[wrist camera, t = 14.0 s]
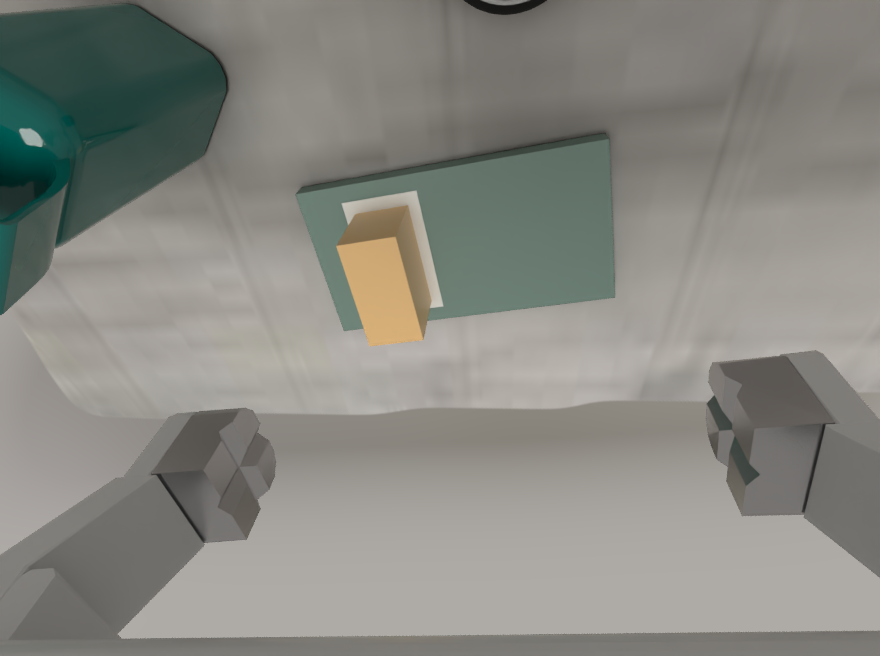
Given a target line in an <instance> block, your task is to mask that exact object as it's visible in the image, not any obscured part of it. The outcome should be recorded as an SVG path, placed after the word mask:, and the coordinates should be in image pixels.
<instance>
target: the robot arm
mask: <svg viewBox="0 0 880 656" xmlns="http://www.w3.org/2000/svg"><path fill="white" fill-rule="evenodd" d="M708 383H709V385H710V387H711V389H712V391H713V393H714V396H713V397H712V398H711V399H710V401H709V402H708V403H707V409H706V423H707V430H708V437H709V440H710V443H711V446H712V449H713V452H714V454H715V456H716V459H717V460H718V461H720V462H721V463H723V464H724V465H726V466H727V467H728V471H727V483H728V486H729V488H730V490H731V492H732V495H733V497H734V499H735V501H736V503H737V506H738V508H739V510H740V512H741V515H742V516H757V515H758V516H760V515H804V518H805V519H807V520H808V521H809V522H810V523H812V524H813V525H814V526H816V527H817V528H818V529H819V530H820V531H822V532H823V533H824V534H825V535H827V536H828V537H829V538H830V539H832V540H833V541H834V542H836V543H837V544H838V545H839V546H841V547H842V548H843V549H844V550H846V551H847V552H848V553H849V554H851V555H852V556H853V557H854V558H856V559H857V560H858V561H860V562H861V563H862V564H863V565H865V566H866V567H867V568H869V569H870V570H871V571H872V572H873V573H875V574H876V575H877V576H878V577H880V419H879V418H878V417H877V416H876V415H875V414H874V412H873V411H872V410H871V409H870V408H869V407H868V405H867V404H866V403H865V402H864V401H863V400H862V398H861V397H860V396H859V395H858V394H857V393H856V391H855V390H854V389H853V388H852V387H851V386H850V384H849V383H848V382H847V381H846V380H845V379H844V377H843V376H842V375H841V374H840V373H839V372H838V371H837V369H836V368H835V367H834V366H833V365H832V364H831V362H830V361H829V360H828V359H827V358H826V357H825V355H824V354H823V353H820V352H818V351H816V350H815V351H807V352H799V353H790V354H782V355H780V356H772V357H762V358H752V359H742V360H733V361H723V362H713V363H712V365H711V367H710V370H709V380H708ZM259 426H260V422H259V420H258V418H257V417H256V415H255V413H254V411H253V410H250V409H247V408H238V409H224V410H210V411H199V412H188V413H177V414H175V415H173V416H170V417H168V419H167V420H166V422H165V423H164V424H163V426H162V427H161V428H160V429H159V431H158V432H157V433H156V435H155V436H154V438H153V439H152V440H151V441H150V443H149V444H148V445H147V447H146V448H145V449H144V450H143V452H142V453H141V454H140V456H139V457H138V459H137V460H136V461H135V462H134V464H133V465H132V466H131V468H130V469H129V470H128V472H127V473H126V474H125V476H124V477H122V478H115V479H114V480H112V481H111V482H109V483H108V484H106V485H105V486H103V487H102V488H100V489H99V490H97V491H96V492H94V493H93V494H91V495H90V496H88V497H86V498H85V499H84V500H82V501H80V502H79V503H78V504H76V505H75V506H73V507H72V508H70V509H69V510H67V511H66V512H64V513H62V514H61V515H59V516H58V517H57V518H55V519H53V520H52V521H51V522H49V523H47V524H46V525H44V526H43V527H42V528H40V529H38V530H37V531H35V532H34V533H32V534H31V535H30V536H28V537H26V538H25V539H23V540H22V541H20V542H19V543H18V544H16V545H14V546H13V547H11V548H10V549H8V550H7V551H5V552H4V553H2V554H1V555H0V656H880V631H811V632H810V631H807V632H719V633H718V632H716V633H715V632H714V633H713V632H712V633H711V632H710V633H631V634H629V633H626V634H625V633H624V634H544V635H543V634H539V635H458V636H457V635H456V636H455V635H453V636H355V637H354V636H353V637H249V638H248V637H247V638H151V639H121V637H119V635H118V633H119V632H120V631H121V630H122V629H123V628H124V627H125V626H126V625H127V624H128V623H129V622H130V621H131V620H132V618H134V616H136V615H137V614H138V613H139V612H140V611H141V610H142V608H143V607H144V606H145V605H146V604H147V603H148V602H149V601H150V600H151V599H152V598H153V597H154V596H155V595H156V594H157V593H158V592H159V591H160V590H161V589H162V588H163V587H164V586H165V585H166V584H167V583H168V582H169V581H170V580H171V579H172V578H173V577H174V576H175V575H176V574H177V573H178V572H179V571H180V570H181V569H182V568H183V567H184V566H185V565H186V564H187V563H188V562H189V560H191V559H192V558H193V557H194V555H196V553H197V552H198V551H199V550H200V549H201V548H202V547H203V546H204V543H208V542H222V541H234V540H246V539H247V538H248V535H249V533H250V531H251V529H252V527H253V524H254V522H255V520H256V518H257V516H258V513H259V511H260V506H259V503H258V500H257V499H259V498H260V497H261V496H262V495H263V494H264V493H265V492H267V491H268V490H269V489H270V486H271V484H272V481H273V479H274V477H275V467H276V459H275V454H274V450H273V448H272V446H271V443H270V441H269V440H268V439H266V438H264V437H263V436H261V435H260V434H259V433H257V432H258V429H259Z"/></svg>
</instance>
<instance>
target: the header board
mask: <svg viewBox="0 0 880 656" xmlns="http://www.w3.org/2000/svg"><path fill="white" fill-rule="evenodd" d="M295 195H296V197H297V200H298V203H299V206H300V209H301V211H302V214H303V217H304V220H305V223H306V225H307V228H308V231H309V234H310V237H311V240H312V242H313V245H314V248H315V251H316V254H317V256H318V259H319V262H320V265H321V268H322V270H323V273H324V276H325V279H326V282H327V284H328V287H329V290H330V293H331V296H332V298H333V301H334V304H335V307H336V310H337V313H338V315H339V318H340V321H341V324H342V327H343V329H344V331H348V330H356V329H364V328H363V325H362V322H361V319H360V316H359V313H358V310H357V307H356V304H355V301H354V298H353V295H352V292H351V289H350V286H349V283H348V280H347V277H346V274H345V271H344V268H343V265H342V262H341V259H340V256H339V253H338V250H337V247H336V245H337V244H338V242H339V240H340V239H341V237H342V235H343V234H344V232H345V230H346V229H347V227H348V225H349V224H350V222H351V220H352V219H353V217H354V215H355V214H359V213H365V212H371V211H377V210H383V209H389V208H395V207H400V206H406V205H408V207H409V211H410V215H411V219H412V223H413V227H414V231H415V235H416V240H417V244H418V248H419V252H420V256H421V260H422V264H423V268H424V272H425V276H426V280H427V284H428V288H429V292H430V296H431V300H432V301H431V306H430V311H429V315H428V320H427V321H429V320H437V319H445V318H453V317H461V316H470V315H478V314H486V313H494V312H502V311H510V310H518V309H526V308H534V307H542V306H551V305H559V304H567V303H575V302H583V301H591V300H599V299H607V298H615V280H614V252H613V225H612V197H611V169H610V142H609V137H608V136H607V134H606V133H603V134H597V135H592V136H586V137H581V138H575V139H570V140H564V141H558V142H553V143H547V144H542V145H536V146H531V147H525V148H519V149H514V150H508V151H503V152H497V153H491V154H486V155H480V156H475V157H469V158H464V159H458V160H452V161H447V162H441V163H436V164H430V165H425V166H419V167H413V168H408V169H402V170H397V171H391V172H385V173H380V174H374V175H369V176H363V177H358V178H352V179H346V180H341V181H335V182H330V183H324V184H319V185H313V186H307V187H302V188H301V189H300V190H299V191H298V192H297V193H296V194H295Z"/></svg>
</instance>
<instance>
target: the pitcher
mask: <svg viewBox="0 0 880 656" xmlns="http://www.w3.org/2000/svg"><path fill="white" fill-rule="evenodd" d="M225 94H226V78H225V75H224V73H223V70H222V68H221V66H220V64H219V63H218V61H217V60H216V59H215V58H214V57H213V55H212V54H211V53H210V52H208V51H207V50H205V49H203V48H202V47H200V46H199V45H197V44H196V43H194V42H192V41H191V40H189V39H188V38H186V37H184V36H183V35H181V34H180V33H178V32H177V31H175V30H173V29H172V28H170V27H169V26H167V25H166V24H164V23H162V22H161V21H159V20H158V19H156V18H155V17H153V16H151V15H150V14H148V13H147V12H145V11H144V10H142V9H140V8H139V7H137V6H136V5H131V4H126V3H115V4H103V5H92V6H80V7H69V8H57V9H45V10H34V11H22V12H11V13H0V315H2V314H4V313H5V312H6V311H7V310H8V309H9V308H10V307H11V306H12V305H13V304H14V303H15V302H17V301H18V300H19V299H20V298H21V297H22V296H23V295H24V294H25V293H26V292H28V291H29V290H30V289H31V288H32V287H33V286H34V285H35V284H36V283H37V282H38V281H39V280H40V279H41V278H42V277H43V276H44V275H45V273H46V272H47V271H48V269H49V267H50V265H51V262H52V258H53V253H54V249H55V248H58V247H61V246H63V245H64V244H66V243H67V242H69V241H71V240H72V239H74V238H75V237H77V236H78V235H80V234H82V233H83V232H85V231H86V230H88V229H90V228H91V227H93V226H94V225H96V224H98V223H99V222H101V221H102V220H104V219H105V218H107V217H109V216H110V215H112V214H113V213H115V212H117V211H118V210H120V209H121V208H123V207H125V206H126V205H128V204H129V203H131V202H132V201H134V200H136V199H137V198H139V197H140V196H142V195H144V194H145V193H147V192H148V191H150V190H152V189H153V188H155V187H156V186H158V185H159V184H161V183H163V182H164V181H166V180H167V179H169V178H171V177H172V176H174V175H175V174H177V173H179V172H180V171H182V170H183V169H185V168H186V167H188V166H190V165H191V164H193V163H194V162H196V161H197V160H198V159H200V158H201V157H202V156H203V155H204V153H205V150H206V147H207V145H208V142H209V139H210V136H211V133H212V131H213V128H214V125H215V122H216V119H217V117H218V114H219V111H220V108H221V105H222V103H223V100H224V97H225Z"/></svg>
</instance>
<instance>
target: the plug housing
mask: <svg viewBox="0 0 880 656" xmlns="http://www.w3.org/2000/svg"><path fill="white" fill-rule="evenodd" d="M336 247H337V250H338V253H339V256H340V259H341V262H342V265H343V268H344V271H345V274H346V277H347V280H348V283H349V286H350V289H351V292H352V295H353V298H354V301H355V304H356V307H357V310H358V313H359V316H360V319H361V322H362V325H363V328H364V331H365V334H366V337H367V340H368V343H369V346H377V345H385V344H393V343H402V342H410V341H419V340H423V339H424V334H425V330H426V325H427V320H428V315H429V311H430V306H431V301H432V300H431V296H430V292H429V288H428V284H427V280H426V276H425V272H424V268H423V264H422V260H421V256H420V252H419V248H418V244H417V240H416V235H415V231H414V227H413V223H412V219H411V215H410V211H409V207H408V205H406V206H400V207H395V208H389V209H383V210H377V211H371V212H365V213H359V214H355V215H354V217H353V219H352V220H351V222H350V224H349V225H348V227H347V229H346V230H345V232H344V234H343V235H342V237H341V239H340V240H339V242H338V244H337V245H336Z"/></svg>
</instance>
